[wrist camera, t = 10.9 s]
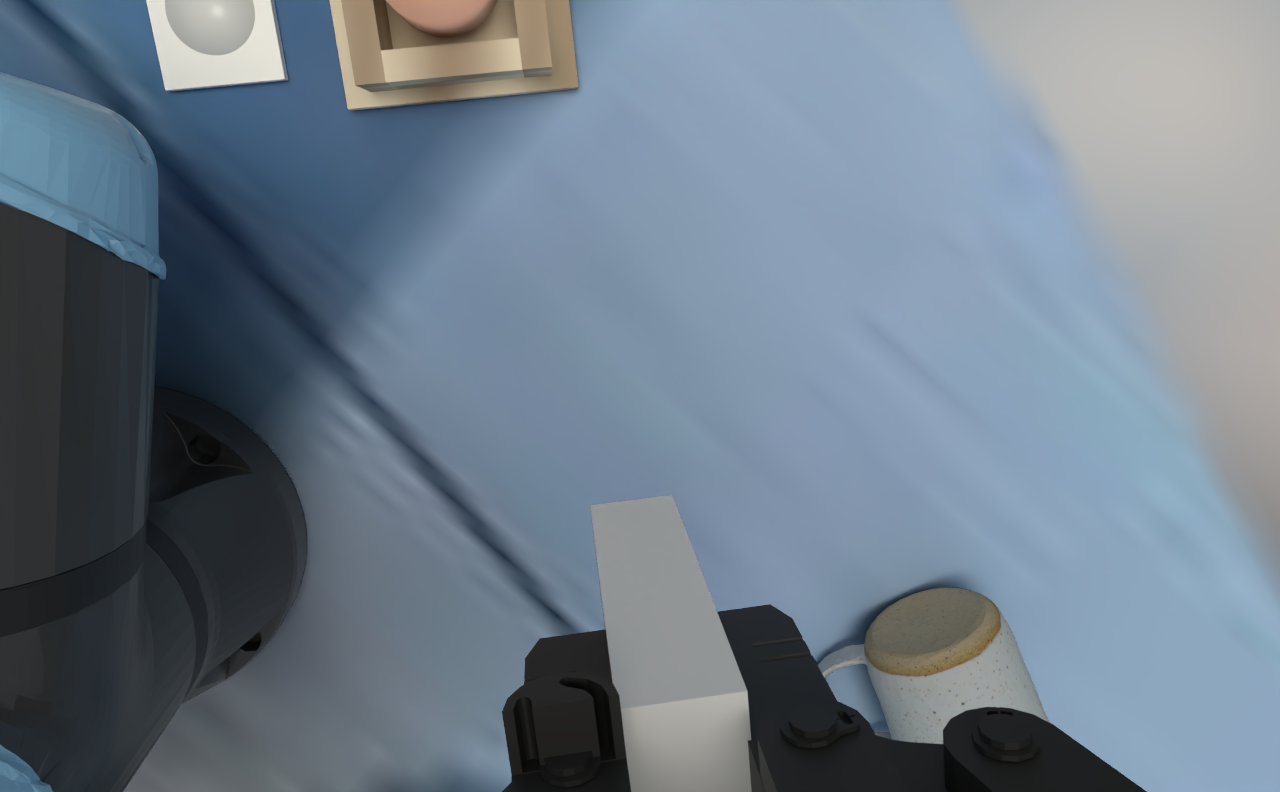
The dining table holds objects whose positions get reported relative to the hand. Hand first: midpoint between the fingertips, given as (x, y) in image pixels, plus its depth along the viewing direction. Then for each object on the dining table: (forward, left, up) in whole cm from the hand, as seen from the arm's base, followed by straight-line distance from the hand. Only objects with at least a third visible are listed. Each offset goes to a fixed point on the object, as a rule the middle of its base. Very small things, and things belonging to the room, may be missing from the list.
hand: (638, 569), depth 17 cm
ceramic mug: (+15, -21, -29) cm, 39 cm away
